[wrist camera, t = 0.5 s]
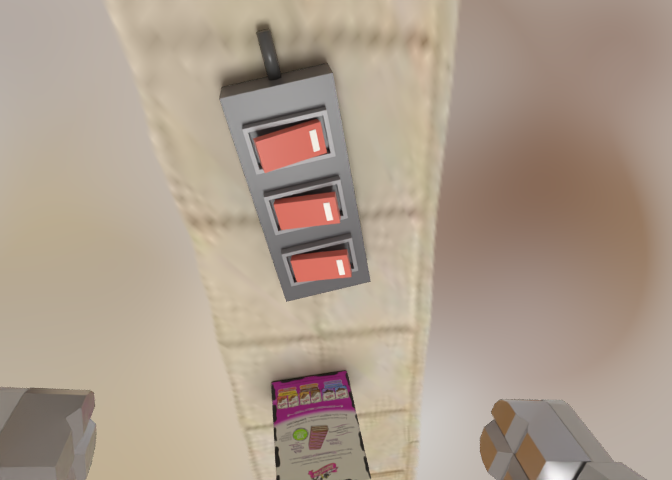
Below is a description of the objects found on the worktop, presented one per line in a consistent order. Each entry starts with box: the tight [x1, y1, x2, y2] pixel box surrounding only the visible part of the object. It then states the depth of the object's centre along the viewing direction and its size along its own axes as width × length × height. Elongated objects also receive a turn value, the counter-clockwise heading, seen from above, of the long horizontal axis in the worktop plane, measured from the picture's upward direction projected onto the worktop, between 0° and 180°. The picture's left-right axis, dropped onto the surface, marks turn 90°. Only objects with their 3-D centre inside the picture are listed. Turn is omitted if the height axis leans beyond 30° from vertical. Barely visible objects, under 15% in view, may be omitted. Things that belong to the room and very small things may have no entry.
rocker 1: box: [253, 119, 327, 173], centre depth 41 cm, size 3×6×1 cm, turn 100°
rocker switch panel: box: [219, 29, 371, 302], centre depth 47 cm, size 28×10×4 cm, turn 10°
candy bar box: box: [271, 371, 371, 480], centre depth 61 cm, size 11×5×16 cm, turn 93°
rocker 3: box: [291, 249, 352, 282], centre depth 49 cm, size 3×6×1 cm, turn 100°
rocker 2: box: [274, 192, 341, 230], centre depth 45 cm, size 3×6×1 cm, turn 100°
